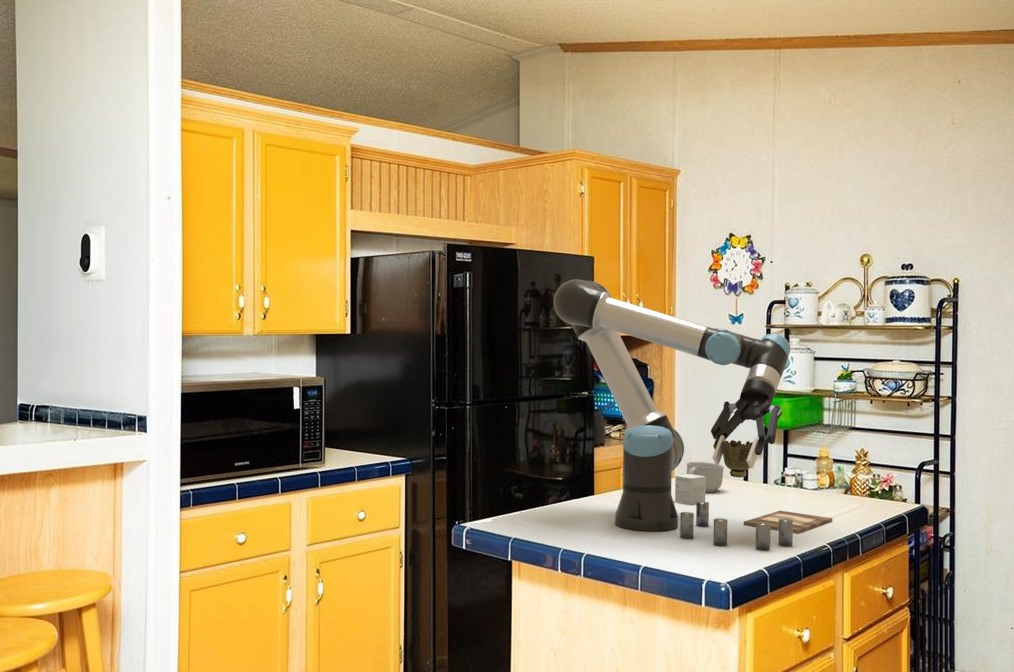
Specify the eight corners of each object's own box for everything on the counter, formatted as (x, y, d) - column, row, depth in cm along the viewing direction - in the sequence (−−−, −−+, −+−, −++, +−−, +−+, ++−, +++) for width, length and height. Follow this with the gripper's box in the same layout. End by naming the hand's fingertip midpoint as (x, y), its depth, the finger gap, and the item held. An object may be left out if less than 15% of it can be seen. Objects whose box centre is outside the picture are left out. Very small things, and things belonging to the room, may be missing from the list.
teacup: (701, 486, 294) (702, 460, 294) (731, 491, 285) (731, 464, 285) (671, 491, 285) (671, 463, 285) (700, 496, 276) (701, 468, 276)
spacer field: (710, 552, 206) (711, 527, 206) (657, 525, 234) (657, 502, 234) (801, 548, 212) (801, 523, 212) (738, 522, 239) (739, 500, 239)
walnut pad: (798, 533, 228) (798, 529, 228) (743, 524, 237) (743, 521, 237) (832, 521, 243) (832, 517, 243) (779, 513, 252) (779, 510, 252)
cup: (716, 476, 221) (717, 441, 221) (728, 473, 227) (728, 439, 227) (748, 480, 217) (748, 444, 217) (759, 476, 223) (759, 441, 223)
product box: (674, 501, 267) (674, 475, 267) (688, 499, 271) (688, 473, 271) (691, 505, 263) (692, 478, 262) (706, 502, 266) (706, 476, 266)
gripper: (805, 401, 228) (780, 477, 215) (724, 396, 240) (695, 468, 227) (798, 379, 224) (771, 456, 211) (715, 375, 236) (686, 448, 223)
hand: (732, 462), depth 219 cm, fingers closed on cup, 7 cm apart
